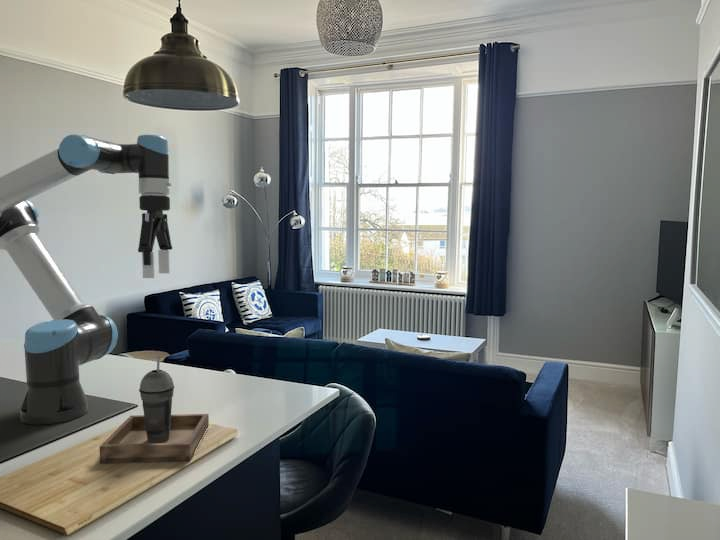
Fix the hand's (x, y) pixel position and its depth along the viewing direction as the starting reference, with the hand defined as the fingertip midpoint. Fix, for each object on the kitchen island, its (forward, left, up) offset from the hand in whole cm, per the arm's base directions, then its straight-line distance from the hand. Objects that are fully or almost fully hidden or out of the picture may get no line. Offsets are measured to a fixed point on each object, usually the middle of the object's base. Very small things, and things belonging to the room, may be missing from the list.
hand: (156, 275), depth 145 cm
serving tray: (+8, -29, -35) cm, 46 cm away
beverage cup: (+8, -29, -34) cm, 45 cm away
